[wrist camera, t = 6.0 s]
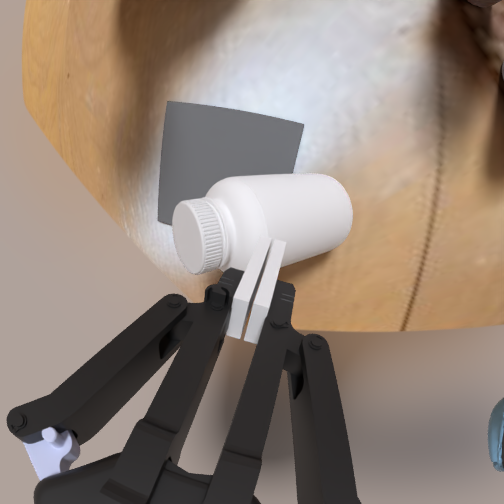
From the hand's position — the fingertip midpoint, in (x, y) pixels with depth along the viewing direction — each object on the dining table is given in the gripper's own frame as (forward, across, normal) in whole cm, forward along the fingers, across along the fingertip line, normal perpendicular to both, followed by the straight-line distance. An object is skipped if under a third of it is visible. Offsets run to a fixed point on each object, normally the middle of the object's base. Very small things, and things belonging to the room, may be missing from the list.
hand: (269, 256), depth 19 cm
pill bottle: (+11, -4, 0) cm, 12 cm away
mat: (+14, +8, 0) cm, 16 cm away
